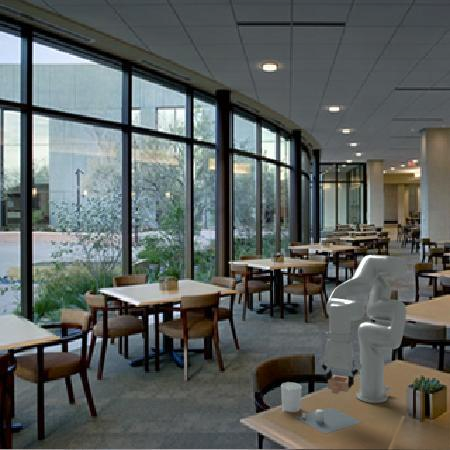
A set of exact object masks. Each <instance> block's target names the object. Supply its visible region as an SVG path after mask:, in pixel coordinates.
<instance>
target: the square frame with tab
mask: <svg viewBox="0 0 450 450" xmlns="http://www.w3.org/2000/svg"><path fill="white" fill-rule="evenodd" d="M348 377H349V376H343V375H337V374H332V377H331V378H330V379H329V380H328V381H327V390H331V393H332V394H335V395H338V394H339V393H340V392H344V393H348V391H349V390H350V389H351V388H349V382H348Z"/></svg>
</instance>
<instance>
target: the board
mask: <svg viewBox="0 0 450 450" xmlns="http://www.w3.org/2000/svg"><path fill="white" fill-rule="evenodd" d="M294 418H295V419H296V420H297V419H298V420H299V421H300V422H303V423H304V424H306V425H308V426H310V427H312V428H313V429H315V430H316V431H317V430H318V432H320V433H322V434H324V435H326V434H329V433H332V432H336V431H339V430H342V429H345V428H348V427H349V428H350V427H352V426H355V425H358V424H362V423H363V421H360V420H358V419H356V418H353V417H352V416H350V415H347V414H345V413H343V412H341V411H340V410H338V409H336V408H333V407H327V408H323V409H316V410H315V411H313V412H307V413H305V412H303V413H302V414H300V415H297V416H295V417H294Z"/></svg>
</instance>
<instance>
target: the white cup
mask: <svg viewBox="0 0 450 450" xmlns="http://www.w3.org/2000/svg"><path fill="white" fill-rule="evenodd" d="M280 388H281V389H280V390H281V391H280V393H281V405H282V406H281V407H282V412H283V413H284V412H288V413H296V412H299V411H300V410H301V405H302V389H303V388H302V385H301V384H300V383H297V382H283V383H281V385H280Z"/></svg>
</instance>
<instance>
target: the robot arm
mask: <svg viewBox="0 0 450 450" xmlns="http://www.w3.org/2000/svg"><path fill="white" fill-rule="evenodd" d="M407 273H408V264H407V261H406V259H404V258H403V257H398V256H391V255H381V254H380V255H377V254H369V255H365V256H364V257H362V259H361V260H360V262H359V264H358V266H357V268H356V270H355V272H354V274H353V276H352V277H351V278H350V279H348V280H346V281H344V282H342V283H341V284H339V285H338V286H336V287H335V288H334V289H333V290H332V292H331V294H330V296H329V298H328V300H327V301H326V309H325V311H326V313H327V315H328V316H329V317H328V318H329V319H328V320H329V321H328V323H329V324H328V326H329V327H328V328H329V329H328V331H327V332H326V331H325V336H326V337H328V338H327V339H326V342H325V343H326V344H325V351H324V356H323V357H321V358H320V359H319V360H318V364H319V365H320V366H321V368H322V369H323V370H324V372H325V374H326V382H328V380H329V379H330V378H331V377H332V376H333V372H332V369H335V370H342V371H343V370H344V371H347V373H348V375H349V376H347V377H348V382H349V388H350V389H351V388H352V387H353V386H354V385H355V384H354V382H355V380H354V379H355V378H354V377H355V375H357V374H358V372H359V390H358V391H356V393H355V397H356V398H357V399H358V400H360V401H362V402H365V403H369V404H384V403H385V402H387V401H388V395H387V394H386V392H388V391H391V390H392V388H391V386H390V385H386V386H384V383H385V381H384V380H385V376H384V375H385V371H384V369H385V365H384V363H385V357H384V354H383V351H382V349H381V348H385V349H392V350H396V349H399V347H400V346H401V344H402V340H403V335H404V330H405V324H406V320H407V319H406V318H407V307H406V304H405V303H404V302H403V301H401V300H398V299H392V298H391V296H392V287H391V284H390V283H389V281H388V280H387V279H386V278H397V279H399V278H400V279H402V278H403V277H405V275H407ZM366 293H369V296H368V301H367V306H365V305H364V303H362V302H361V301H359V300H357V299H356V300H353V299H349V298H351V297H354V296H359V295H363V294H366ZM365 307H366V308H365ZM365 314H366V316H367V317H368V319H371V320H373V321H364V322H362V323H359V325H358V328H357V337H358V338H357V339H358V342H359V343H358V344H359V361H357V359H355V350H354V349H355V348H354V344H353V341H352V340H351V322H356V321H360V320H361V319H363V317H364V316H365ZM376 321H378V322H376ZM381 322H384V323H381ZM385 322H386V323H385ZM388 323H390V324H388ZM354 367H355V369H353V368H354Z"/></svg>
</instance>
